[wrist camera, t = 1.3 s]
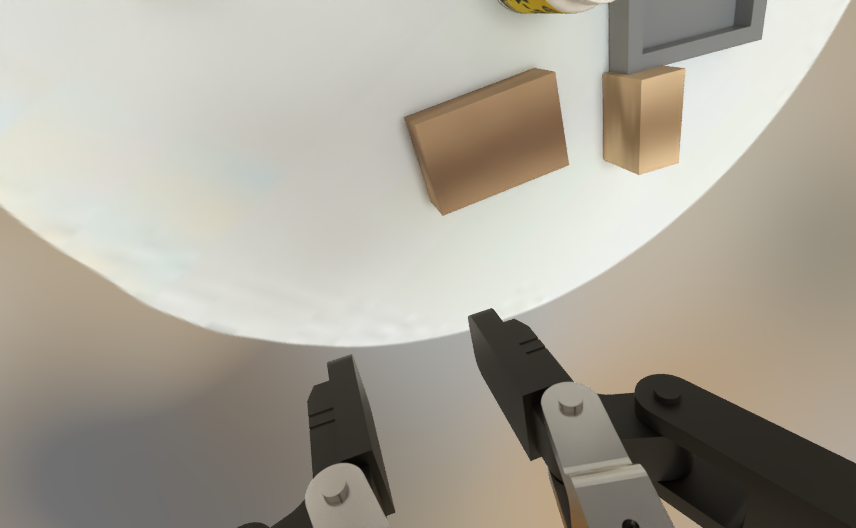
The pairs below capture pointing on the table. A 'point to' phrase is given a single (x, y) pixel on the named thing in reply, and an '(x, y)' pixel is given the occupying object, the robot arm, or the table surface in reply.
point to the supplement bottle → (551, 5)
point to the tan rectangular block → (643, 118)
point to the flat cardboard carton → (490, 139)
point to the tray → (678, 30)
